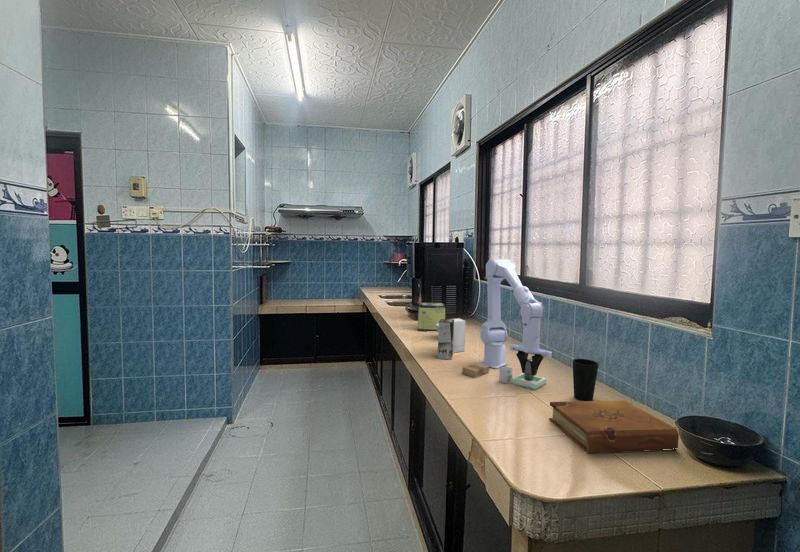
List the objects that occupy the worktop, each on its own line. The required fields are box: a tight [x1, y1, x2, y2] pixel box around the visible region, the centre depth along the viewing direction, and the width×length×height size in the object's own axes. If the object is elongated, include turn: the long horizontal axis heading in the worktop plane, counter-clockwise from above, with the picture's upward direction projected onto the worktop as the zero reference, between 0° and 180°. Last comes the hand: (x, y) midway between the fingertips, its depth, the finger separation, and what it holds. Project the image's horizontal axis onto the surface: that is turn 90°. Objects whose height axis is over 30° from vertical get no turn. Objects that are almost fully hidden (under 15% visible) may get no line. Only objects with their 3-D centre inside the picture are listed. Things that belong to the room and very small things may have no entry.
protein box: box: [417, 302, 446, 332], centre depth 229 cm, size 10×16×16 cm
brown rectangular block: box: [461, 362, 490, 379], centre depth 149 cm, size 9×6×3 cm, turn 135°
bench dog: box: [498, 365, 513, 385], centre depth 140 cm, size 4×3×5 cm
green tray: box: [510, 372, 547, 391], centre depth 139 cm, size 9×9×2 cm
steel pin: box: [524, 358, 534, 381], centre depth 138 cm, size 3×3×7 cm
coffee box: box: [437, 318, 454, 361], centre depth 171 cm, size 9×6×16 cm
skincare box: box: [451, 317, 466, 353], centre depth 182 cm, size 8×6×15 cm
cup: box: [572, 358, 599, 401], centre depth 126 cm, size 8×8×12 cm
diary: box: [548, 399, 680, 454], centre depth 101 cm, size 23×19×6 cm
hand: (529, 373), depth 139 cm, fingers closed on steel pin, 3 cm apart
